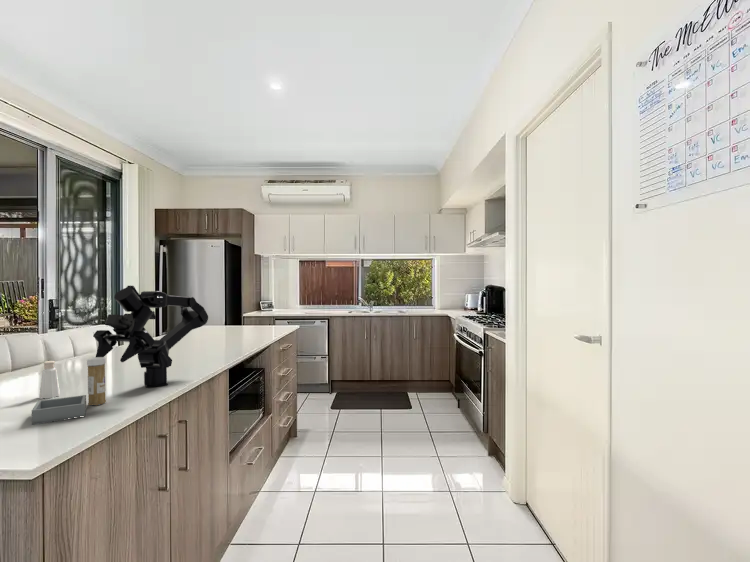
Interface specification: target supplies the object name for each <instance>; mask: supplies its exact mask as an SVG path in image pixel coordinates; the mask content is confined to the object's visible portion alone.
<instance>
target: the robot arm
mask: <svg viewBox="0 0 750 562" xmlns="http://www.w3.org/2000/svg"><path fill="white" fill-rule="evenodd" d="M114 300H115V301H116V302H117V304H119V306H120V307H121V308H122V309H123V311H124V312H127V313H124V314H108V315H107V317H106V320H105V324H104V325H105V326H109V327H111V328H113V329H112V330H113V332H114V333H115V334H113V333H112V332H111V331H110V330H108V329H99V330H96V331H95V332H94V334H93V335H92V336H93V338H94V339H95V341H97V344H98V345H97V350H96V353H95V357H106V356H107V355H108V354H109V353H110V352H111V351H112V350H113V349H114V347H115V346H116V345H117V343H118V342H123V343H128V346H127V347H126V349H125V351H124V352H123V353H122V356H121V357H120V362H121V363H124V362H126V361H127V360H129V359H131V358H133V357H135V356H136V355H137V358H138V363H139V365H140V368H143V369H144V368H145V371H144V372H143V386H145V388H154V387H162V386H168V385H169V383H168V376H167V374H168V371H167V369H168V368H169V367H171V366H172V362H173V358H171V357H170V356H169V354H170V350H171V349H172V348H173V347H174V346H175V345H177V344H178V343H179V342H180V341H181V340H182V339H184V338H185V336H187V335H188V334H189V333H191V332H192V330H196V329H199V328H202V327H203V326H205V325H206V324H207V323H208V321H209V315H208V313H207V311H206V309H205V308H204V307H203V306H202V305H201V304H200V303H198V301H197V300H196V299H195V297H194V296H182V295H181V296H180V295H169V294H167V293H166V292H164V291H163V292H162V291H160V290H151V291H148V290H143V291H141V292H140V293H139V292H138V290H137V289H136V287H135V286H134V285H127V286H126V287H125V288H121V289H120V290H119V291H117V292H116V293H115V295H114ZM169 306H170V307H180V315H181V322H180V323H178V324H177V325H176V326H174V327H173V328H172V329H170V331H168V332H167V333H166V334H165V335H164V336H162V337H161V338H159V339H154V337H153V336H152V335H151V334H150V333H149V332H148V330H146V328H145V326H146V325H147V324H148V322H149V320H156V319H157V317H156V316H157V315H156V312H155V311H153V310H152V309H161V308H166V307H169ZM188 308H190V309H191V310H188Z"/></svg>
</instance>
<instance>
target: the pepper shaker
mask: <svg viewBox="0 0 750 562" xmlns="http://www.w3.org/2000/svg"><path fill="white" fill-rule="evenodd" d="M55 362H56V361H55V360H47V361H46V360H45V361H44V362H43V367H44V368H43V369H42V371H41V378H40V387H39V394H38V395H39V396H38V397H39V399H41V398H47V399H53V398H52V397H54V398H57V397H56V396H58V397H59V396H60V395H61V390H60V387H59V386H60V385H59V379H58V371H57V368H55Z"/></svg>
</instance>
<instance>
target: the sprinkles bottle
mask: <svg viewBox="0 0 750 562" xmlns="http://www.w3.org/2000/svg"><path fill="white" fill-rule="evenodd" d="M105 357H106V356H104V357H96V356H95V357H89V358H87V359H86V365H87V394H88V396H87V398H88V399H87V400H88V402H87V405H88V406H90V405H96V406H99V405H98V404H101V405H104V404H106V403H107V399H106V368H105V367H106V358H105ZM105 402H106V403H105ZM103 403H104V404H103Z"/></svg>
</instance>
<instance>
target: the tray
mask: <svg viewBox="0 0 750 562" xmlns="http://www.w3.org/2000/svg"><path fill="white" fill-rule="evenodd" d="M85 410H86V411H87V394H83V395H76V396H67V397H58V398H48V399H40V400H37V402H36V403H35V405H34V406H33V408H32V409H31V426H32V425H40V424H47V423H52V421H54V422H58V421H57V420H61V421H65V420H64V419H68V418H74V417H80V416H84V415H85V416H86V412H85ZM68 420H69V419H68Z"/></svg>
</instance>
